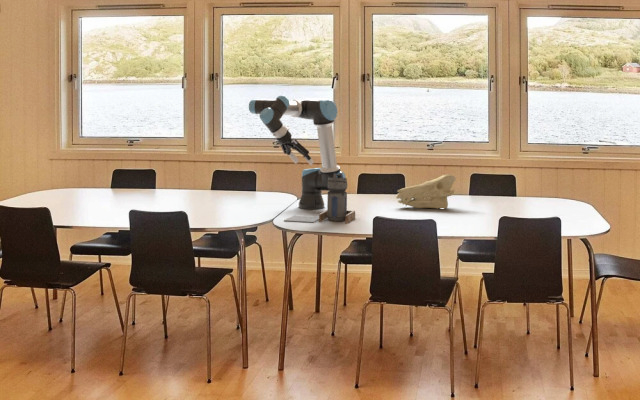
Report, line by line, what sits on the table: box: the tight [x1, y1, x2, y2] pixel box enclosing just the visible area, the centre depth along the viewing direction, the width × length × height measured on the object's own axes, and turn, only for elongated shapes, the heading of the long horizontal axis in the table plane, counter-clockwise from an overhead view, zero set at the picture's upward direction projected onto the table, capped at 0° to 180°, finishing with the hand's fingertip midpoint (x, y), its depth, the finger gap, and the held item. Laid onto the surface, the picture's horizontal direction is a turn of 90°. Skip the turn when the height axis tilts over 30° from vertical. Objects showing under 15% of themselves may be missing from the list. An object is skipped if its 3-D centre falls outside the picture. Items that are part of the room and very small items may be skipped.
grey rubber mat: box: [283, 214, 319, 224], centre depth 394 cm, size 18×16×1 cm
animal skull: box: [395, 173, 457, 209], centre depth 444 cm, size 15×35×20 cm, turn 94°
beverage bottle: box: [326, 173, 348, 222], centre depth 393 cm, size 10×13×25 cm
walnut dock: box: [318, 209, 356, 224], centre depth 395 cm, size 18×15×4 cm
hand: (304, 163), depth 396 cm, fingers open, 13 cm apart
